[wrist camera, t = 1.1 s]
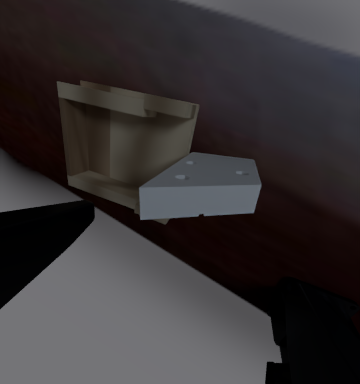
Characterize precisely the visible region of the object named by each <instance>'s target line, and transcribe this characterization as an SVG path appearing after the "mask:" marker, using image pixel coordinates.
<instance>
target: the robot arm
mask: <svg viewBox="0 0 360 384" xmlns="http://www.w3.org/2000/svg"><path fill="white" fill-rule="evenodd" d="M94 218H95V213H94V204H93V203H92V202H90V201H87V200H81V201H74V202H68V203H61V204H54V205H47V206H41V207H34V208H27V209H20V210H14V211H7V212H0V309H1V308H2V307H3V306H4V305H5V304H7V303H8V302H9V301H10V300H11V299H12V298H13V297H14V296H15V295H16V294H18V293H19V292H20V291H21V290H22V289H23V288H24V287H25V286H27V284H28V283H30V282H31V281H32V280H33V279H34V278H35V277H36V276H38V275H39V274H40V273H41V272H42V271H43V270H44V269H45V268H46V267H48V266H49V265H50V264H51V263H52V262H53V261H54V260H55V259H56V258H58V257H59V256H60V255H61V254H62V253H63V252H64V251H65V250H66V249H67V248H68V247H69V246H70V245H71V244H72V243H73V242H74V241H75V240H76V239H77V238H78V237H79V236H80V235H81V234H82V233H83V232H84V231H85V229H86V228H87V227H88V226H89V225H90V224H91V223H92V222H93V220H94ZM359 309H360V307H359V306H358V304H357V303H356V302H355V301H352V300H350V299H347V298H344V297H342V296H339V295H337V294H334V293H331V292H329V291H326V290H323V289H321V288H318V287H316V286H313V285H310V284H308V283H305V282H302V281H300V280H297V279H294V278H290V279H288V280H287V282H286V283H285V284H284V286H283V287H282V289H281V290H280V291H279V292H277V294H276V295H275V297H274V298H273V299H272V301H271V302H270V304H269V307H268V308H267V314H268V316H270V317H271V323H272V330H273V336H274V341H275V343H276V345H278V346H280V352H281V358H282V363H274V362H267V368H266V380H265V384H360V335H359V333H358V331H357V329H356V327H355V326H354V324H353V322H352V320H351V317H352V316H353V315H354V314H355V313H356V312H357V311H359Z"/></svg>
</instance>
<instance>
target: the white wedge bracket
mask: <svg viewBox="0 0 360 384" xmlns="http://www.w3.org/2000/svg"><path fill="white" fill-rule="evenodd" d="M260 188H261V182H260V178H259V175H258V172H257V168H256V165H255V161H254V160H252V159H244V158H236V157H228V156H220V155H212V154H204V153H196V152H192V153H190V154H189V155H187V156H186V157H184V158H183V159H181V160H180V161H178V162H177V163H175V164H174V165H172V166H171V167H169V168H168V169H166V170H165V171H163V172H162V173H160V174H159V175H157V176H156V177H154V178H153V179H151V180H150V181H148V182H147V183H145V184H144V185H142V186H141V187H139V197H140V220H147V219H163V218H179V217H195V216H199V214H204V216H212V215H228V214H244V213H254V210H255V206H256V203H257V199H258V195H259V192H260Z"/></svg>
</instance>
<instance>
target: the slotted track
mask: <svg viewBox="0 0 360 384" xmlns="http://www.w3.org/2000/svg"><path fill="white" fill-rule="evenodd" d="M80 83H81V86H77V85H73V84H68V83H63V82H58V81H57V87H58V96H59V105H60V114H61V122H62V131H63V140H64V149H65V158H66V167H67V176H68V185H70V186H73V187H75V188H78V189H81V190H83V191H86V192H89V193H92V194H94V195H97V196H100V197H102V198H105V199H108V200H110V201H113V202H116V203H119V204H121V205H124V206H127V207H129V208H132V209H135V212H134V213H136V214H139V215H140V197H139V187H141V186H142V185H144V184H145V183H147V182H148V181H150V180H151V179H153V178H154V177H156V176H157V175H159V174H160V173H162V172H163V171H165V170H166V169H168V168H169V167H171V166H172V165H174V164H175V163H177V162H178V161H180V160H181V159H183V158H184V157H186V156H187V155H189V151H190V147H191V142H192V137H193V133H194V128H195V123H196V119H197V114H198V110H199V105H198V104H193V103H189V102H184V101H179V100H174V99H169V98H164V97H159V96H154V95H150V94H145V93H140V92H135V91H130V90H125V89H120V88H115V87H111V86H106V85H101V84H96V83H91V82H86V81H81V80H80ZM169 219H170V218H163V219H152V220H155V221H158V222H160V223H163V224H166V223H167V222H168V220H169Z"/></svg>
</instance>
